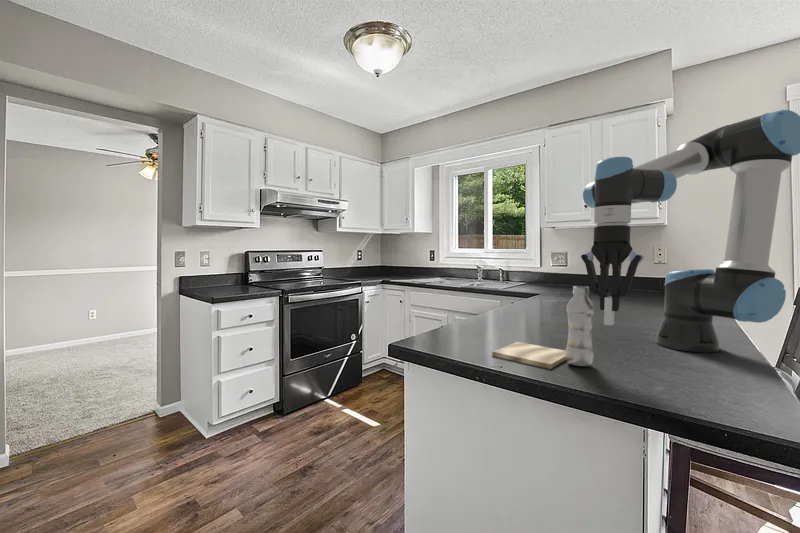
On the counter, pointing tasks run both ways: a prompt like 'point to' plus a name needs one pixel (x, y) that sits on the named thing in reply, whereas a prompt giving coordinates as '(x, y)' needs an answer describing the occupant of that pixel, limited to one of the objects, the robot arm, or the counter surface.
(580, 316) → the plastic bottle
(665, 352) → the counter surface
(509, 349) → the birch board
